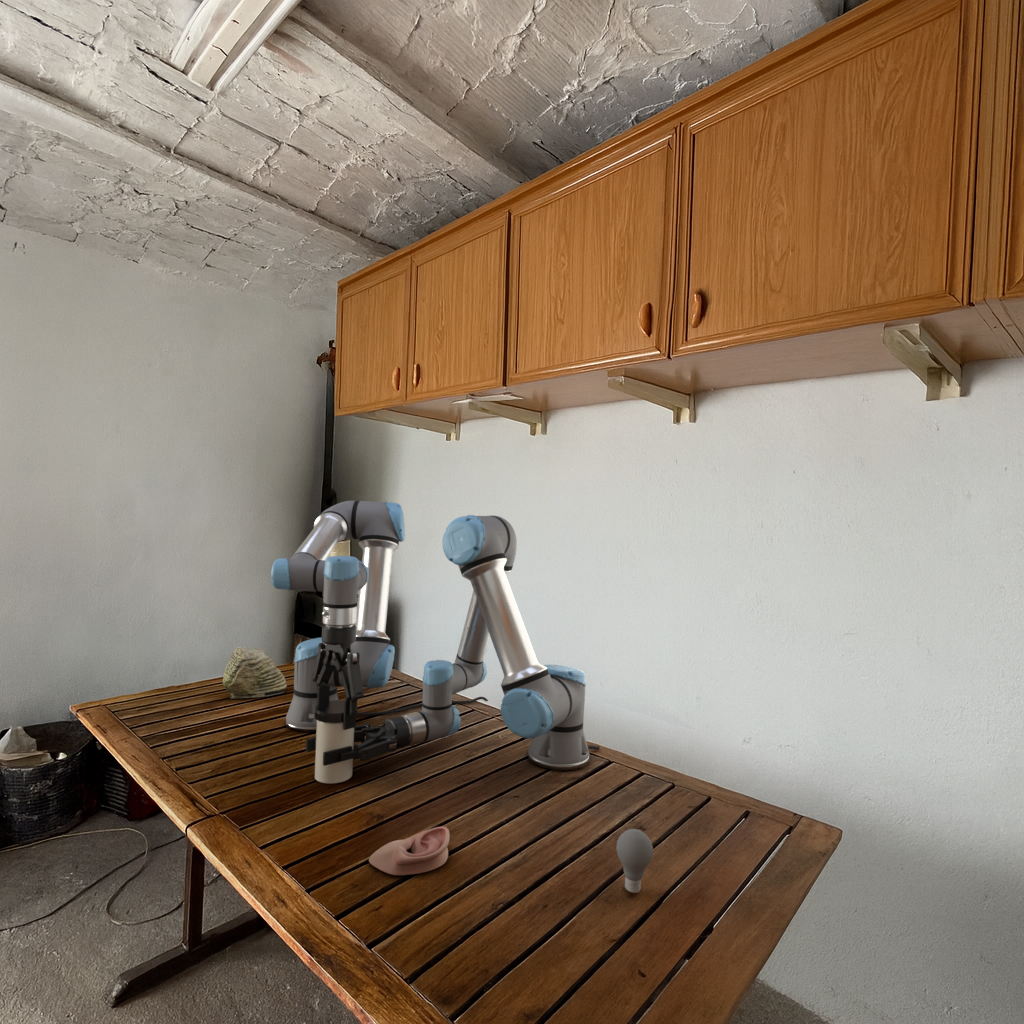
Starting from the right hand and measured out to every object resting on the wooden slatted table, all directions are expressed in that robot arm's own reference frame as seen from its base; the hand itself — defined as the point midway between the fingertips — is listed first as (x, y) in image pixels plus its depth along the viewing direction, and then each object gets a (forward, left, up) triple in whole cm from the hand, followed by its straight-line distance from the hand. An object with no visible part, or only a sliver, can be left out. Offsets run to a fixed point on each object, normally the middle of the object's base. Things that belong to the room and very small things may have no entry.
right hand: (315, 752), depth 141 cm
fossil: (+19, -65, -6) cm, 68 cm away
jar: (-4, -2, -6) cm, 8 cm away
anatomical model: (-17, +35, -6) cm, 39 cm away
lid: (-4, -2, +9) cm, 10 cm away
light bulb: (-52, +52, -6) cm, 74 cm away
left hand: (-4, -2, +6) cm, 8 cm away
